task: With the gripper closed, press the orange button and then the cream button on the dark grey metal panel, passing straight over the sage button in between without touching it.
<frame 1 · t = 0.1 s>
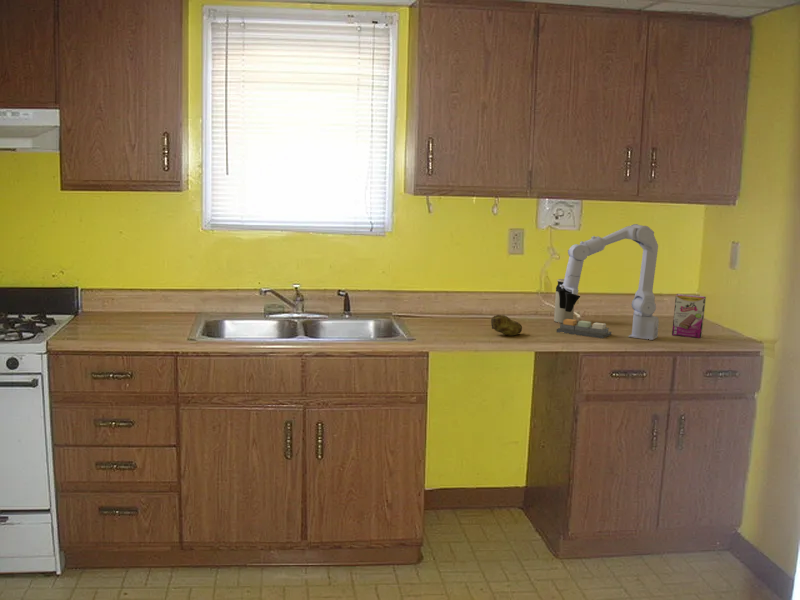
hand: (565, 309, 317), 10 cm above the worktop, tool pointing down, fingers open, 7 cm apart
candy bar box: (687, 336, 328), on the worktop
potato: (506, 335, 318), on the worktop
panel: (583, 333, 327), on the worktop
button sage: (584, 324, 326), point 4 cm above the worktop, slide at 0.0 cm
button cream: (599, 326, 323), point 4 cm above the worktop, slide at 0.0 cm
travel mug: (563, 322, 350), on the worktop
button orange: (569, 322, 329), point 4 cm above the worktop, slide at 0.0 cm
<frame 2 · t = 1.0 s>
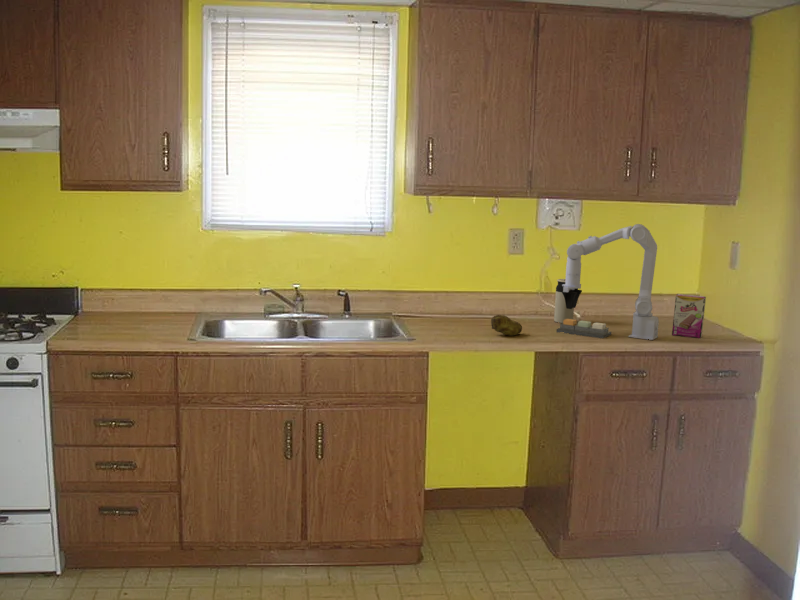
hand: (570, 308, 328), 9 cm above the worktop, tool pointing down, fingers open, 3 cm apart
nothing on the worktop moved.
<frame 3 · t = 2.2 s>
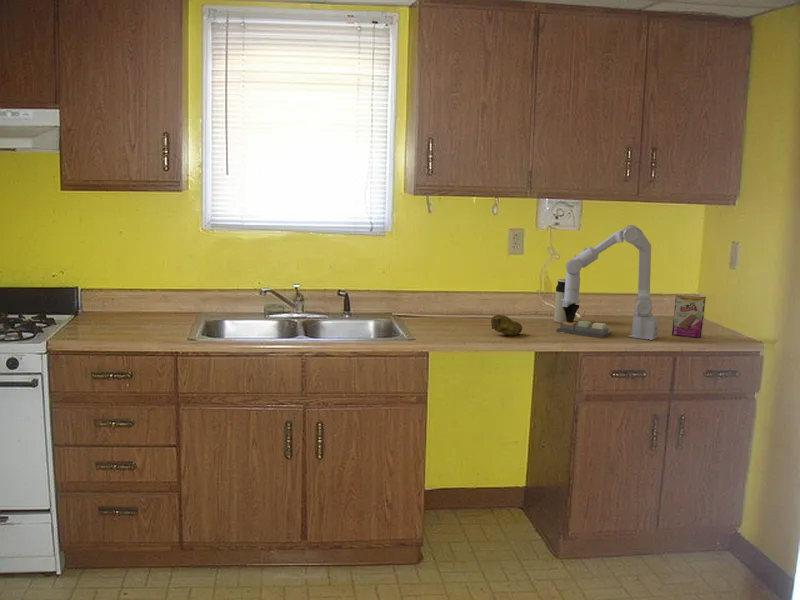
hand: (569, 322, 329), 4 cm above the worktop, tool pointing down, fingers closed, pressing on button orange
button orange: (569, 324, 329), point 3 cm above the worktop, slide at 1.0 cm, touching gripper
everything else where it was.
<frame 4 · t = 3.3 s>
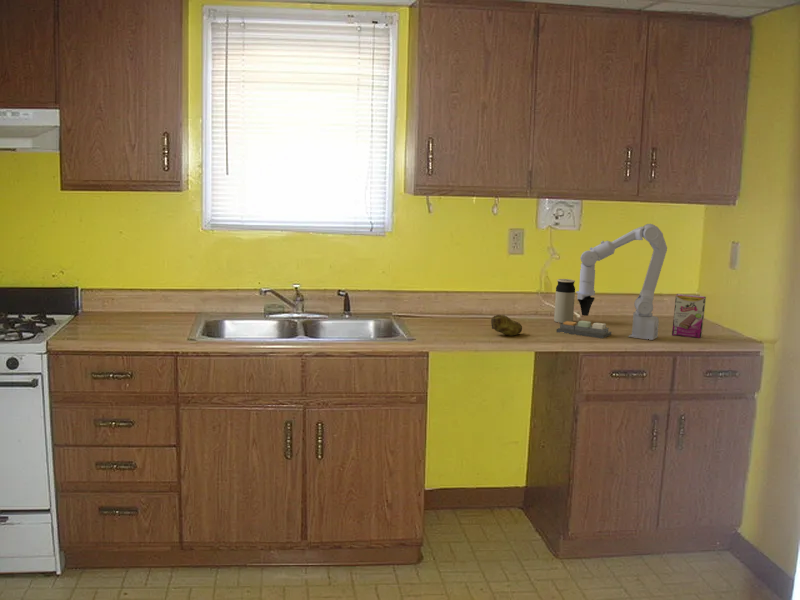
hand: (585, 315, 326), 7 cm above the worktop, tool pointing down, fingers closed
button orange: (569, 324, 329), point 3 cm above the worktop, slide at 1.0 cm
everything else where it was.
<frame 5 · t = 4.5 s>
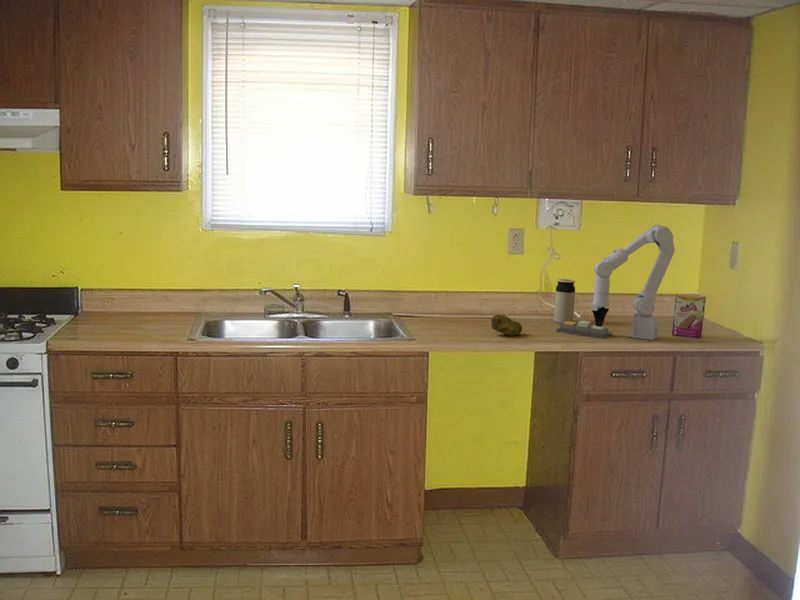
hand: (599, 326, 323), 4 cm above the worktop, tool pointing down, fingers closed, pressing on button cream
button cream: (598, 328, 323), point 3 cm above the worktop, slide at 1.0 cm, touching gripper
everything else where it was.
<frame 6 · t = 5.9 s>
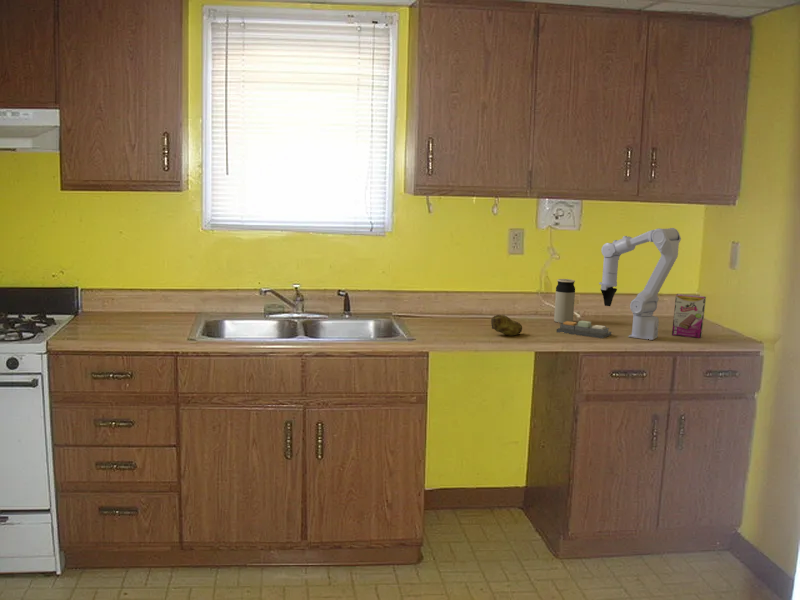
hand: (607, 305, 334), 10 cm above the worktop, tool pointing down, fingers closed
button cream: (598, 328, 323), point 3 cm above the worktop, slide at 1.0 cm
everything else where it was.
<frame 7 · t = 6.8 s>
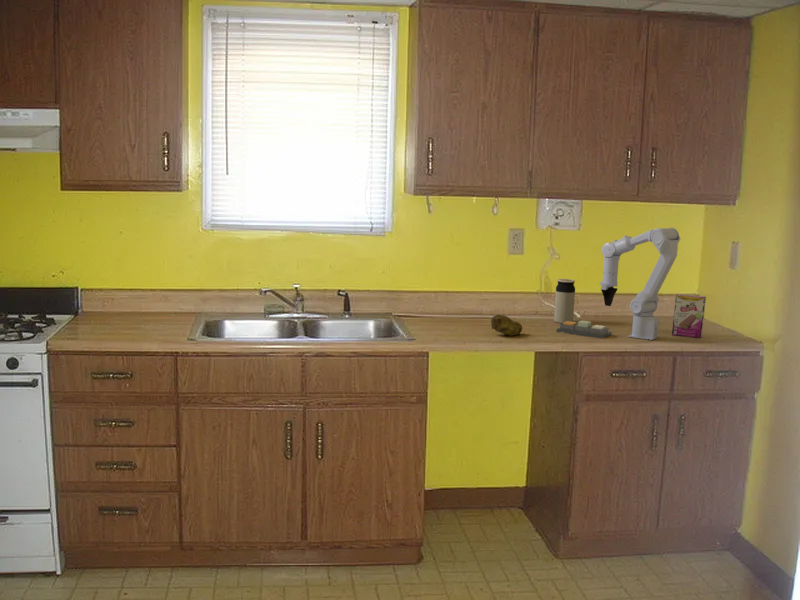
hand: (608, 305, 334), 10 cm above the worktop, tool pointing down, fingers closed
nothing on the worktop moved.
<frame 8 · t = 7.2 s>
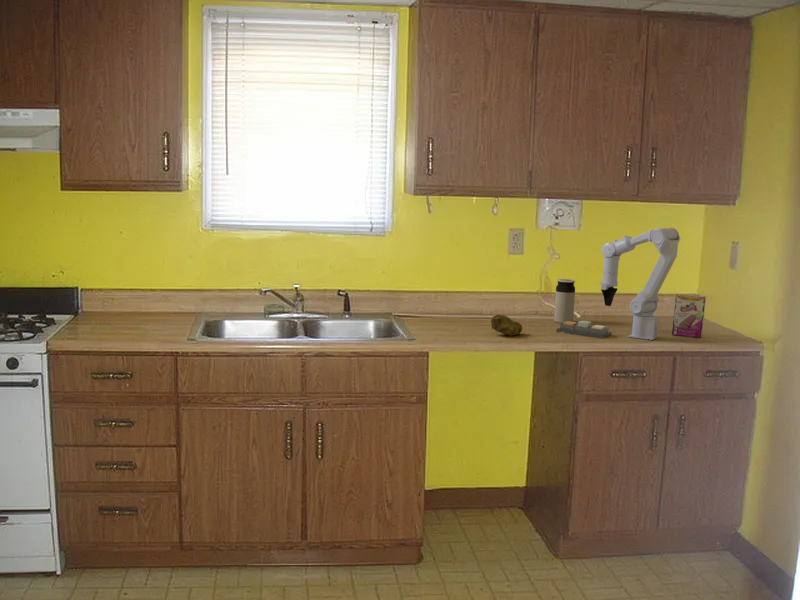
hand: (608, 305, 334), 10 cm above the worktop, tool pointing down, fingers closed
nothing on the worktop moved.
at the end: button orange slide at 1.0 cm; button cream slide at 1.0 cm; button sage slide at 0.0 cm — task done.
